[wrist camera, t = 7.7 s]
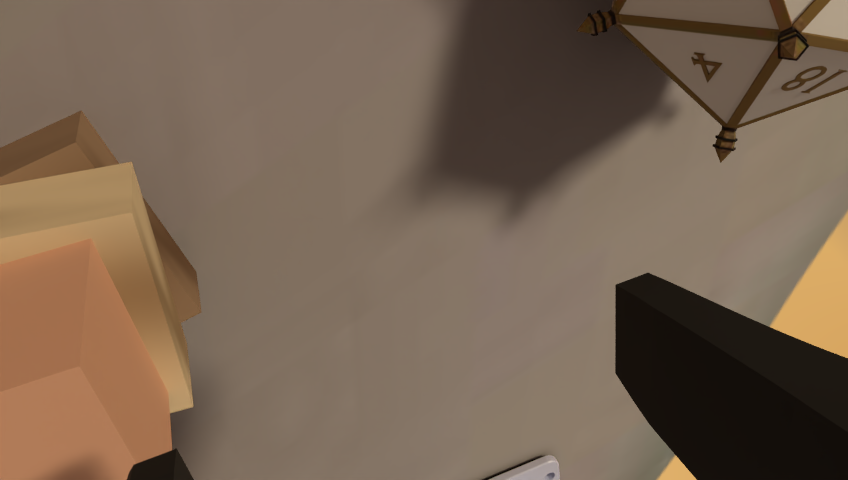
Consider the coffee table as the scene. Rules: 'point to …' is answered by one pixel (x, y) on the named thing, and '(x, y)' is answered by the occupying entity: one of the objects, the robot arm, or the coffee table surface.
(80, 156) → the walnut slab
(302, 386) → the coffee table surface
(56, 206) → the oak slab
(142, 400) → the terracotta block
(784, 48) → the game die
